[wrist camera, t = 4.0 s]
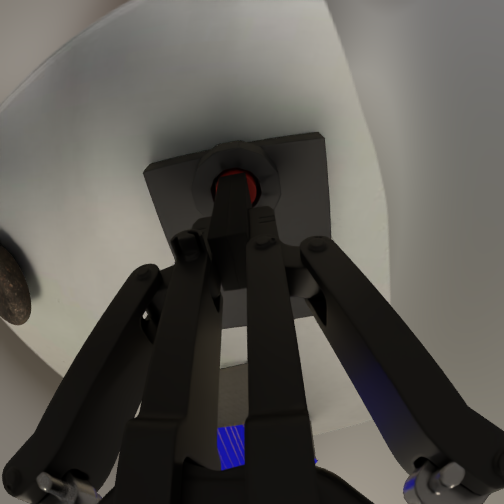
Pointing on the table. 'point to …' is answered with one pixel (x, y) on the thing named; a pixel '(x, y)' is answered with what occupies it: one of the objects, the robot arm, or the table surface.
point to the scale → (267, 194)
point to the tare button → (249, 177)
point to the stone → (13, 291)
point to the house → (233, 415)
